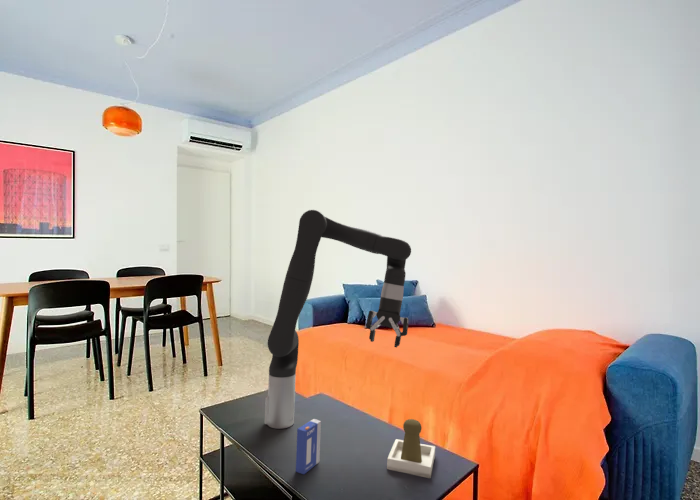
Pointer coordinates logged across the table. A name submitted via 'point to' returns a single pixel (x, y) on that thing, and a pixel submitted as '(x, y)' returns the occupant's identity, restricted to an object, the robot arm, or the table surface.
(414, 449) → the olive pepper mill
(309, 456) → the walkman
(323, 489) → the table surface
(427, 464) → the tray
